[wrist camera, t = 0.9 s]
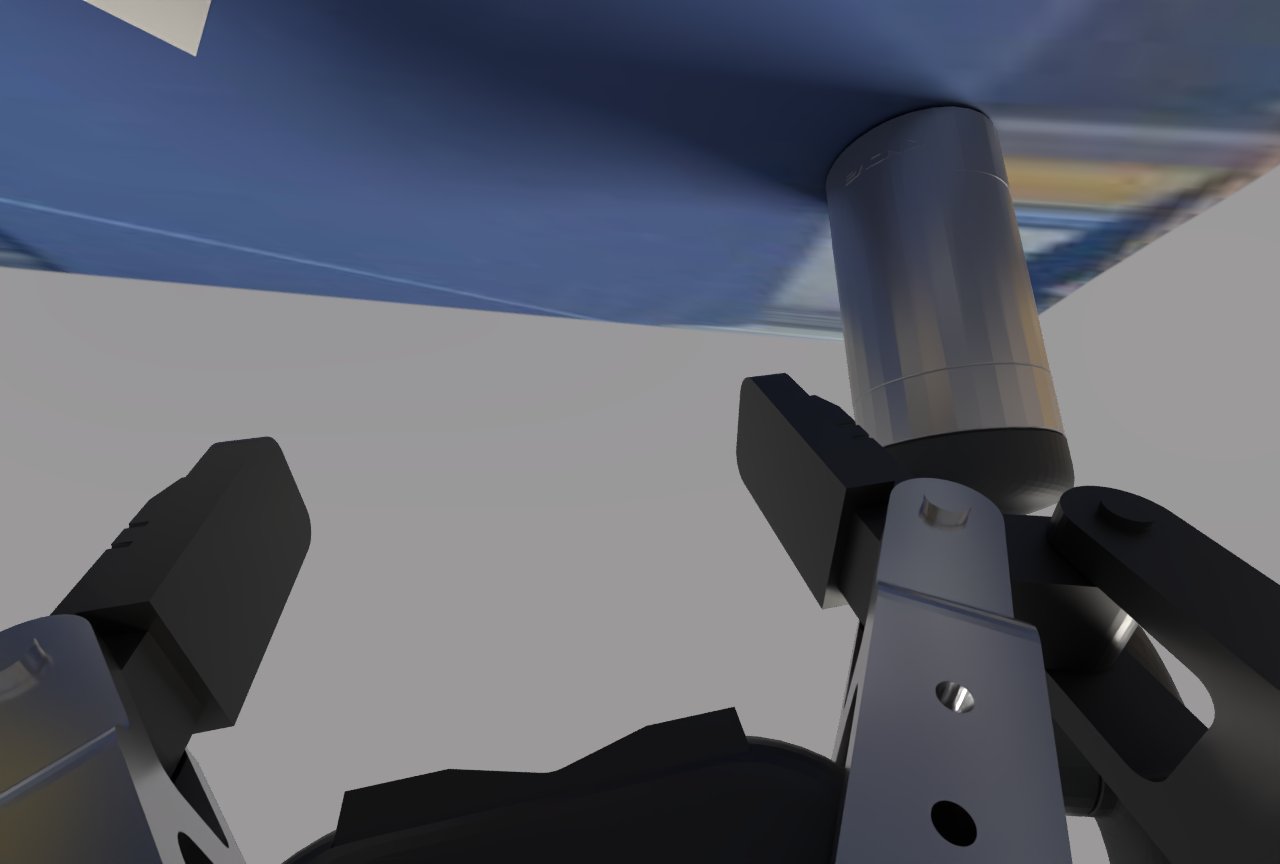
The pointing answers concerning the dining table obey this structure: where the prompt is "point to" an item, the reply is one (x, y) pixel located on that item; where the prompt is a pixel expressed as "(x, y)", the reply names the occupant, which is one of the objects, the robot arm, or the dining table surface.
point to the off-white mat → (163, 18)
